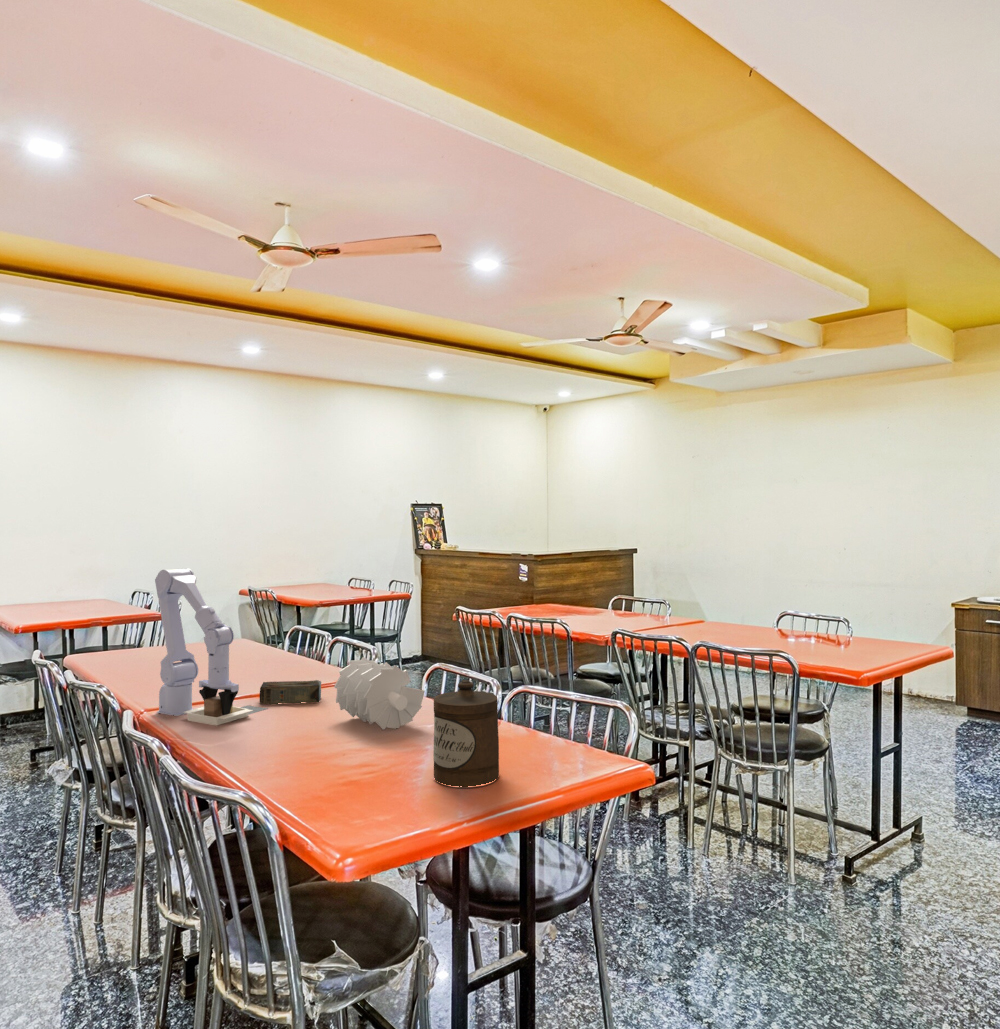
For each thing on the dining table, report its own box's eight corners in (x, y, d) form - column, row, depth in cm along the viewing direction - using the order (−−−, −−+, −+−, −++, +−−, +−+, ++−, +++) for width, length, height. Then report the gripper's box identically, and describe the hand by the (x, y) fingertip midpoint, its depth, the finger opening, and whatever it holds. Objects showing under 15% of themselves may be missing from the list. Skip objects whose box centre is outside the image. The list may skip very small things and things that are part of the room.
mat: (225, 712, 228) (225, 711, 228) (247, 706, 236) (247, 705, 236) (246, 716, 223) (246, 715, 223) (268, 709, 231) (268, 708, 231)
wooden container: (420, 777, 169) (420, 680, 169) (468, 763, 179) (468, 671, 179) (463, 794, 158) (463, 690, 158) (512, 777, 168) (512, 680, 169)
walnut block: (213, 721, 216) (213, 700, 216) (204, 720, 218) (204, 699, 218) (232, 716, 222) (232, 696, 222) (223, 714, 224) (223, 694, 224)
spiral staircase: (386, 748, 204) (342, 725, 223) (434, 711, 214) (388, 692, 233) (362, 693, 199) (320, 674, 218) (413, 658, 209) (368, 643, 228)
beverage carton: (320, 703, 241) (320, 683, 241) (258, 706, 237) (258, 685, 237) (321, 698, 249) (321, 678, 249) (261, 700, 245) (261, 680, 245)
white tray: (181, 720, 218) (181, 712, 218) (214, 711, 229) (214, 703, 229) (222, 727, 211) (222, 719, 211) (254, 718, 221) (254, 709, 221)
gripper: (246, 667, 220) (246, 713, 220) (212, 663, 227) (212, 708, 227) (228, 671, 214) (227, 718, 214) (193, 667, 221) (192, 713, 221)
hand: (218, 713), depth 220 cm, fingers open, 6 cm apart
